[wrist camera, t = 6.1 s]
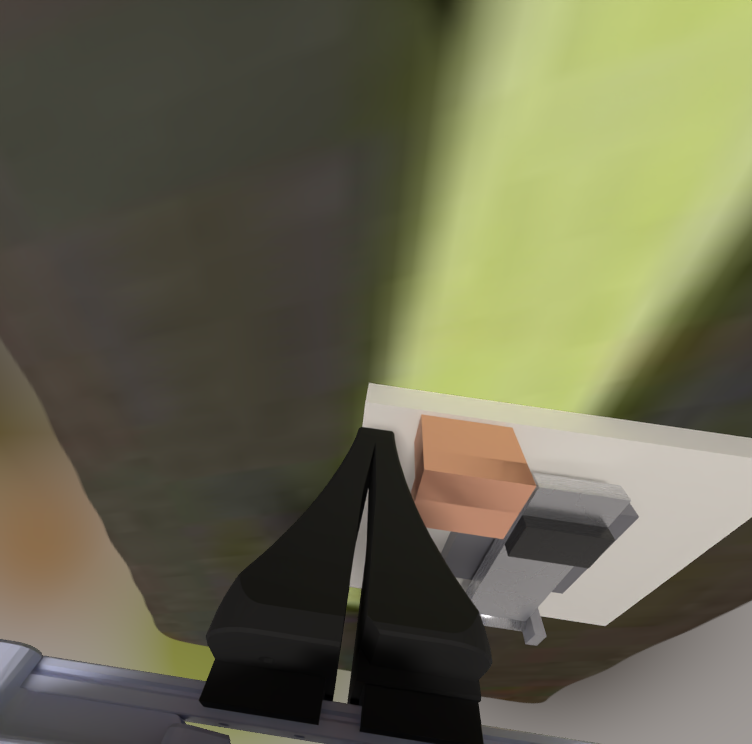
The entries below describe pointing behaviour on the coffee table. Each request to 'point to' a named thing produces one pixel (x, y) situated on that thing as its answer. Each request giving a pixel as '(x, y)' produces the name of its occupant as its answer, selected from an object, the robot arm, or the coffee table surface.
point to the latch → (469, 476)
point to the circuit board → (599, 464)
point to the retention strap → (544, 547)
